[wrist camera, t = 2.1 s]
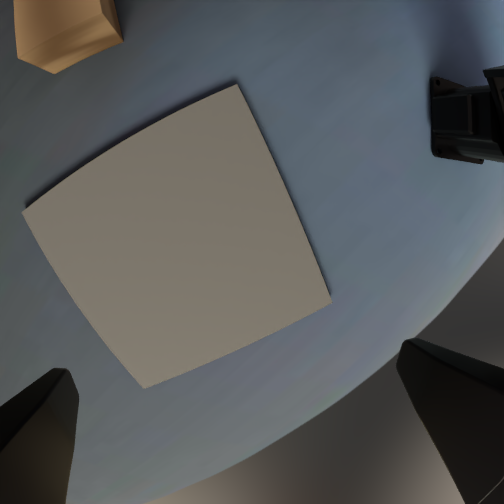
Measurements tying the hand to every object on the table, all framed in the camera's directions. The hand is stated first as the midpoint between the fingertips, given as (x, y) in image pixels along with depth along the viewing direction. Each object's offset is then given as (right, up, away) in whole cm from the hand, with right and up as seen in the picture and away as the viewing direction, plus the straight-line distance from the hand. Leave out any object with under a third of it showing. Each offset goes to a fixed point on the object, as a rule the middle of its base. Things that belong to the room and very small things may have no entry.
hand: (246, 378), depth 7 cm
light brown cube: (-11, +18, +7) cm, 22 cm away
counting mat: (-5, +3, +13) cm, 14 cm away
